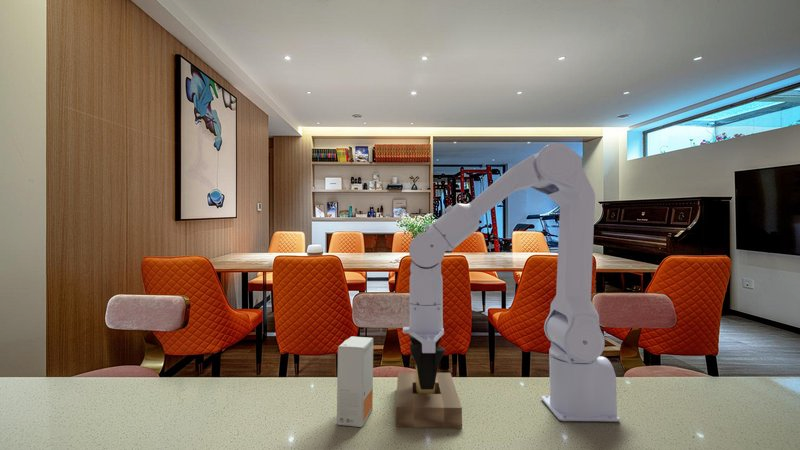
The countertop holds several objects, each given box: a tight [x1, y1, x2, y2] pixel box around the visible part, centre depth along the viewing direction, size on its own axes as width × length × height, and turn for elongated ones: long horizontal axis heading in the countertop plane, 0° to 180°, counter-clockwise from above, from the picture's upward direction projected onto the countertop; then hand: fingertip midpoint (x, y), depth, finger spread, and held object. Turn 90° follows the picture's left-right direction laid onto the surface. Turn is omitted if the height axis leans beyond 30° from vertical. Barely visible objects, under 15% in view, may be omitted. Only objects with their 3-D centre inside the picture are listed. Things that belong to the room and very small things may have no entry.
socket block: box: [395, 371, 463, 429], centre depth 60 cm, size 10×14×3 cm
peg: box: [415, 365, 435, 394], centre depth 61 cm, size 3×3×7 cm
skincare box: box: [336, 335, 374, 428], centre depth 57 cm, size 6×4×12 cm
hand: (426, 382), depth 61 cm, fingers open, 4 cm apart
